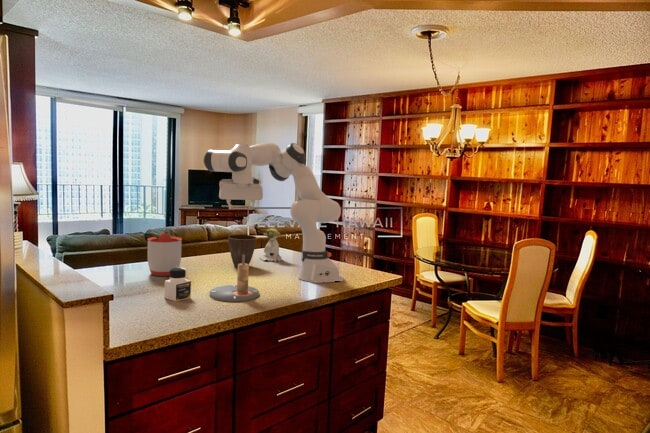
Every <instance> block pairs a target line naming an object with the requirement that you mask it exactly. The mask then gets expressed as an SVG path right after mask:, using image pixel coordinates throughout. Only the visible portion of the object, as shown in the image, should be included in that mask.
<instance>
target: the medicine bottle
mask: <svg viewBox="0 0 650 433" xmlns="http://www.w3.org/2000/svg"><path fill="white" fill-rule="evenodd" d="M191 287H192V280H190V279H187V269H186V268H184V267H180V266H179V267H176V268H172V269H171V270H170V275H169V279H166V280H164V295H163V296H164V297H163V298H164V299H167V300H169V301H172V302H175V303H177V302H180V301H183V300H187V299H190V298H191V297H192V296H191V295H192V294H191V291H192V288H191Z"/></svg>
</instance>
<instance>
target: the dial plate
mask: <svg viewBox="0 0 650 433" xmlns="http://www.w3.org/2000/svg"><path fill="white" fill-rule="evenodd" d="M259 295H260V291H259V289H258V288H257V287H256V288H255V287H253V286H249V285H248V294H246V295H239V294H237V284H231V285H229V284H227V285H220V286H216V287H213V288H212V289H210V291H209V297H210V298H211V299H213V300H216V301H219V302H228V303H237V302H238V303H240V302H241V303H242V302H247V301H248V302H249V301H251V300H255V299H257V298H258V297H259Z"/></svg>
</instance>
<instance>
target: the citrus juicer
mask: <svg viewBox="0 0 650 433" xmlns="http://www.w3.org/2000/svg"><path fill="white" fill-rule="evenodd" d="M146 240H147V265H148V269H149V271H150V273H151V275H153V276H156V277H162V276H163V277H164V276H165V277H167V276H170V270H171V269H172V268H176V267H180V265H181V262H182V243H183V242H182V241H183V238H182V237H178V236H170V235H169V234H168V233H167V232H163V233H162V234H160V236H159V237H158V238H157V236H152V237H151V236H150V237H148V238H147V239H146Z"/></svg>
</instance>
